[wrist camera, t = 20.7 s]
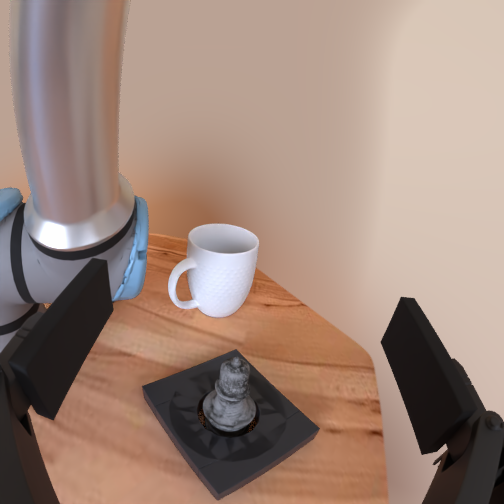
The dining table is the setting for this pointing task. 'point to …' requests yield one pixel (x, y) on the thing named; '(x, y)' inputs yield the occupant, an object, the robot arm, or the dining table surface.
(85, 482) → the dining table surface
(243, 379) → the grey chess piece
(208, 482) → the socket plate
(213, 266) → the mug
